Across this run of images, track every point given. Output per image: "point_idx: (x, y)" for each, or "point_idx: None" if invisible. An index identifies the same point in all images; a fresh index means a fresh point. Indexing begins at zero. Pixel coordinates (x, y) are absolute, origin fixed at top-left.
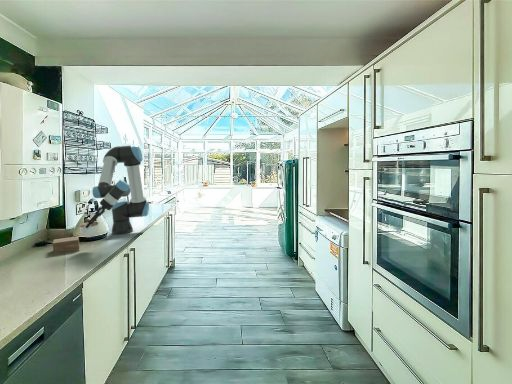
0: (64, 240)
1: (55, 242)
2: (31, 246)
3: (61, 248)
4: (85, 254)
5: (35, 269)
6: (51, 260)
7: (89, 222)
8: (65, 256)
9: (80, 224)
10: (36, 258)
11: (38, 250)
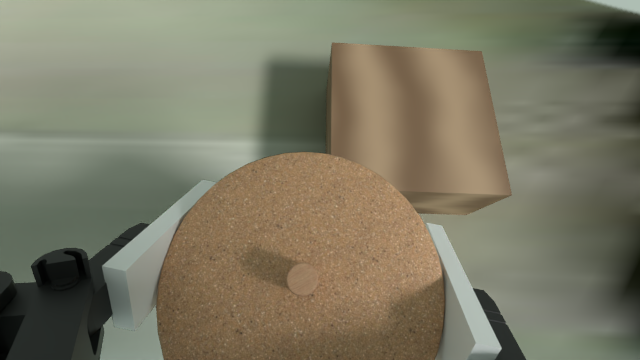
0: (385, 103)
1: (350, 57)
2: (615, 8)
3: (328, 108)
4: None
5: (40, 27)
6: (177, 79)
7: (16, 288)
8: (218, 137)
9: (305, 166)
10: (289, 28)
11: (488, 33)
